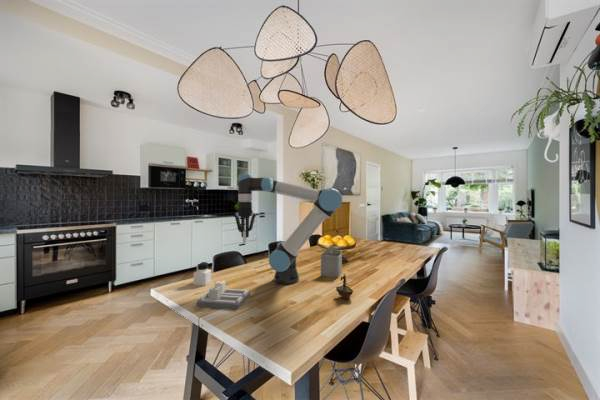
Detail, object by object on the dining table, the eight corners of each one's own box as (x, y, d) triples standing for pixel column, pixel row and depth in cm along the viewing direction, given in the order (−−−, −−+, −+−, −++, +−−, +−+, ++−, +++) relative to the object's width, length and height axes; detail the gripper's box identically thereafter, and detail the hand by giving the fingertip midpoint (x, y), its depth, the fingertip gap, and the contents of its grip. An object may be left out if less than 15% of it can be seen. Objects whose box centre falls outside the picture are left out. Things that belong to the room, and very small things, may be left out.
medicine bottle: (211, 281, 141) (211, 261, 141) (205, 285, 134) (205, 264, 134) (199, 281, 142) (199, 260, 142) (193, 285, 135) (193, 264, 135)
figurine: (356, 301, 116) (356, 276, 116) (341, 303, 114) (342, 278, 114) (346, 293, 126) (347, 270, 126) (333, 295, 123) (333, 271, 123)
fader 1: (220, 297, 114) (221, 286, 114) (217, 300, 110) (217, 289, 110) (213, 296, 114) (213, 286, 114) (209, 300, 110) (209, 288, 110)
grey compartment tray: (250, 295, 122) (250, 288, 122) (238, 309, 106) (238, 302, 106) (213, 292, 125) (213, 286, 125) (196, 306, 109) (196, 299, 109)
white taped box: (225, 290, 122) (225, 280, 122) (222, 293, 118) (222, 283, 118) (218, 290, 122) (218, 280, 122) (214, 293, 119) (214, 282, 119)
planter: (327, 279, 147) (327, 248, 147) (320, 275, 154) (320, 245, 154) (348, 276, 154) (348, 246, 154) (341, 272, 161) (341, 244, 161)
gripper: (258, 201, 138) (258, 242, 138) (236, 201, 139) (236, 241, 140) (254, 201, 131) (254, 244, 131) (231, 201, 132) (231, 244, 132)
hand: (245, 243), depth 135 cm, fingers closed
